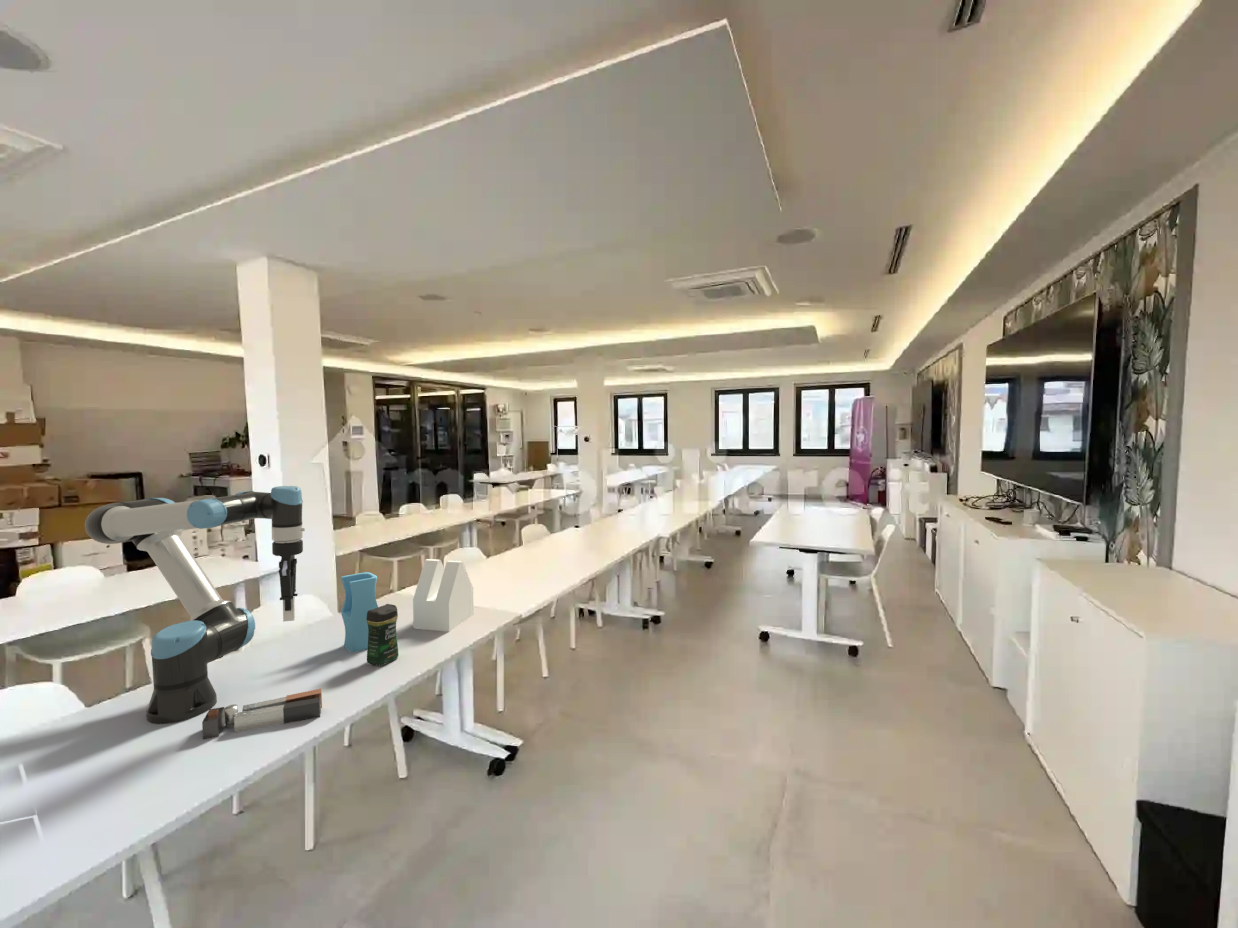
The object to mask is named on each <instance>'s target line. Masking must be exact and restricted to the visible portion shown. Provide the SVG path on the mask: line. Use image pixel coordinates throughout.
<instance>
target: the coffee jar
mask: <svg viewBox="0 0 1238 928" xmlns="http://www.w3.org/2000/svg"><path fill="white" fill-rule="evenodd" d="M398 617H399V614H398V607H397V605H395V604H392V603H391V604H390V603H386V604H383V605H381V606H378V608H375V609H372V610H369V611H368V612H367V620H366V621H367V624H368V649H366V650H367V651H366V663H367V664H368V665H371V666H384V665H387V664H389V663H391V662H393V661H394V660H397V659H398V657H399V646H398V633H397V621H398Z"/></svg>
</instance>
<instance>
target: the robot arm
mask: <svg viewBox="0 0 1238 928" xmlns="http://www.w3.org/2000/svg"><path fill="white" fill-rule="evenodd" d="M303 503H304V501H303V494H302V489H301V487H299V486H297V485H281V486H274V487H272V488H271V489H270V492H262V491H254V490H247V491H239V492H237V493H235V494H233V495H226V496H220V497H212V498H211V497H210V498H203V499H196V500H187V501H180V502H175V501H174V500H171V499H170V498H167V497H166V498H165V497H147V498H143V499H137V500H130V501H121V502H113V503H108V504H105V505H101V506H99V507H97V508H95V509H93V510H92V511H91V512H90V513H89V514H88V515H87V517H86V518H85V522H84V529H85V533H86V534H87V535H88V537H89V538H90V539H92V540H93V541H95V542H98V543H101V544H104V545H105V544H107V545H115V544H121V543H122V544H123V543H127V542H132V543H133V545H134V546H135V547H136V550H139V551H141V552H142V551H143V552H147V553H148V555H149V557H150V558H151V559H152V560H153V562H154V564H155V566H156V567H157V569H158V570H159V571H160V573H161V574H162V576H163V578H164V580H165V581H167V583H168V585H169V587H170V588H171V589H172V591H173V593H174V594H175V595H176V597H177V598H178V600H179V601H180V603H181V604H182V605H183V607H184V609H185V611H186V612H187V613H188V615H189V616H190V619H189V620H186V621H182V622H180V623H178V622H177V623H173V624H172V625H169V626H167V627H165V628H163V629H160V630H159V631H158V632H157V633H156V634H155V635H154V636H153V638H152V639H151V648H150V656H151V663H152V679H153V681H152V682H153V690H152V691H153V692H152V694H151V697H150V700H149V703H148V706H147V708H146V711H145V712H146V713H145V714H146V721H147V723H151V724H153V725H166V724H167V725H168V724H176V723H179V722H183V721H188V720H190V719H193V718H196V717H198V716H201V715H203V714H204V713H208V711H209V710H210V709H213V707H214V708H215V706H216V704H217V701H218V699H217V698H218V697H217V696H218V695H217V693H216V690H215V689H214V686H213V684H212V682H211V680H210V678H209V676H208V675H209V674H208V673H209V672H208V664H209V663H212V662H213V661H215V660H218V659H220V658H222V657H224V656H226V655H229V654H231V653H233V652H236V651H238V650H239V649H241V648H242V647H245V646H246V645H247V644H249V643H250V642H251V640H252V639H253V637H254V636H255V630H256V620H255V617H254V616H253V614H252V613H251V611H249V610H248V609H246V608H244V607H236V606H235V604H233V601H231V600H227V599H223V598H222V596H221V595H220V593H219V591H218V590H217V589H216V587H215V586H214V584H213V583H212V581H211V580H210V578H209V577H208V576H207V574H206V572H205V571H204V569H203V568H202V566H201V565H200V563H199V562H198V561H197V559H196V557H195V556H194V555H193V553H192V551H191V550H190V548H189V547H188V546H187V544H186V543H185V542H184V539H183V538H182V537H181V536H182V533H183V532H184V530H185V531H186V530H192V529H193V530H194V529H200V530H202V529H213V528H216V527H220V526H224V525H230V524H233V523H239V522H243V521H244V522H245V521H249V520H254V519H265V520H271V540H272V544H271V546H272V547H271V549H272V551H271V552H272V555H273V556H275V557H281V559H280V561H278V568H279V570H278V575H279V583H280V586H279V587H280V597H279V601H282V622H293V621H295V618H296V611H295V610H296V605H295V603H296V601H295V597H297V596H298V594H299V593H296V592H297V587H296V586H297V585H296V582H297V563H298V558H295V556H296V555H300V554H302V553H303V552H304V543H303V539H302V538H303V532H305V530H306V529H305V527H303Z"/></svg>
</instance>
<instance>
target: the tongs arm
mask: <svg viewBox="0 0 1238 928" xmlns="http://www.w3.org/2000/svg"><path fill="white" fill-rule="evenodd" d="M319 697H321V709H322V707H323V700H322V699H323V698H322V688H317V689H311V690H308V691H307V690H306V691H302V692H296V693H293V694H287V695H286V696H283V697H277V698H274V699H268V700H265V701H264V700H263V701H258V702H253V703H249V704H245V705H243V706H242V711H241V712H245V711H250V710H256V709H262V708H268V707H273V706H279V705H285V703H290V702H296V701H302V700H307V699H313V698H319ZM224 708H225V725H224V727H225V728H227V729H228V728H229V729H231V728H235V726H234V717H235V715H236V713H239V707H238V704H230V705H227V706H224Z"/></svg>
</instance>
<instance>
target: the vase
mask: <svg viewBox="0 0 1238 928" xmlns="http://www.w3.org/2000/svg"><path fill="white" fill-rule="evenodd" d="M340 580H341V582H342V585H343V588H344V602H343V605H342V609H341V613H340V614H341V617H342V618H341V619H342V621H343V624H344V632H345V633H344V634H345V635H344V642H343V643H344V644H343V647H345V649H347V650H348V651H349V652H350V653H356V652H361V651H365V650H367V649H368V624H367V621H366V620H367V612H368V611H369V610H372V609H375V608H378V607H379V605H378V602H377V599H376V598H377V597H376V587H377V581H378V576H377V575H376V574H374V573H372V572H368V571H365V572H360V573H359V572H358V573H353V574H348V575H343V576H340Z"/></svg>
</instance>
